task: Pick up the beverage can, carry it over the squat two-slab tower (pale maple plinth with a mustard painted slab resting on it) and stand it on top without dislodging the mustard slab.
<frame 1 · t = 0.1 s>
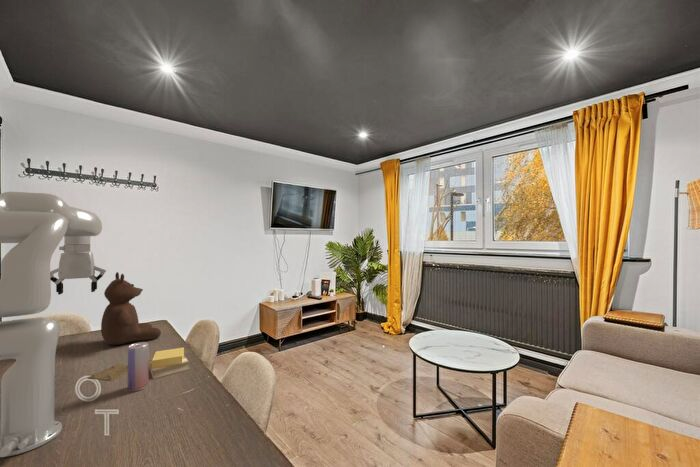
hand: (77, 292, 116), 31 cm above the table, tool pointing down, fingers open, 9 cm apart
stuffed bear: (131, 340, 151), on the table
beverage can: (138, 388, 104), on the table
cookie: (115, 374, 116), on the table
tower top: (168, 361, 119), point 3 cm above the table, touching tower base
tower base: (168, 368, 119), on the table
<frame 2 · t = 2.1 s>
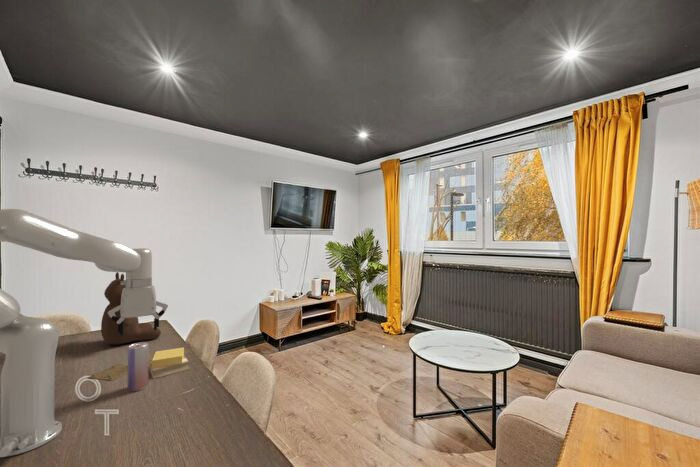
hand: (139, 331, 104), 20 cm above the table, tool pointing down, fingers open, 9 cm apart
nothing on the table moved.
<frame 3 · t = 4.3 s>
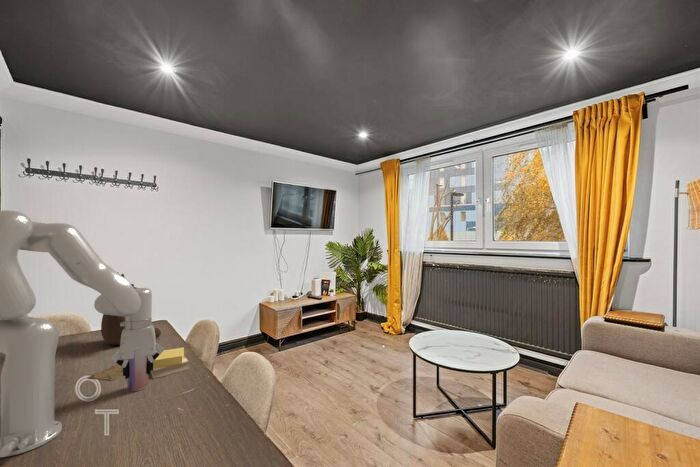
hand: (138, 374, 104), 5 cm above the table, tool pointing down, fingers closed on beverage can, 5 cm apart
beverage can: (138, 388, 104), on the table, touching gripper
everything else where it was.
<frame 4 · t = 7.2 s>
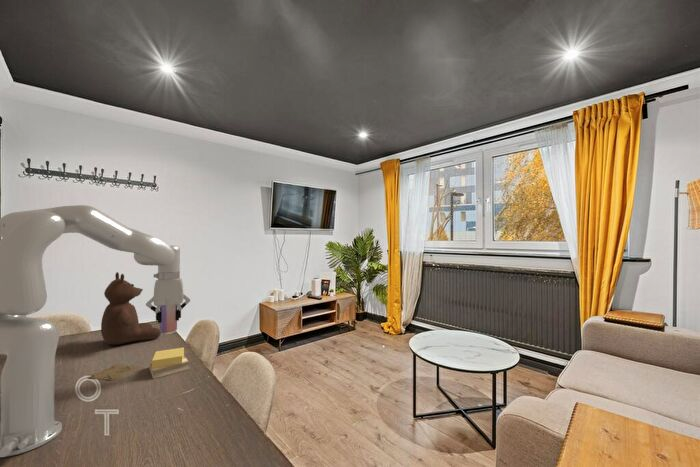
hand: (168, 320, 119), 19 cm above the table, tool pointing down, fingers closed on beverage can, 5 cm apart
beverage can: (168, 332, 119), point 15 cm above the table, touching gripper
everything else where it was.
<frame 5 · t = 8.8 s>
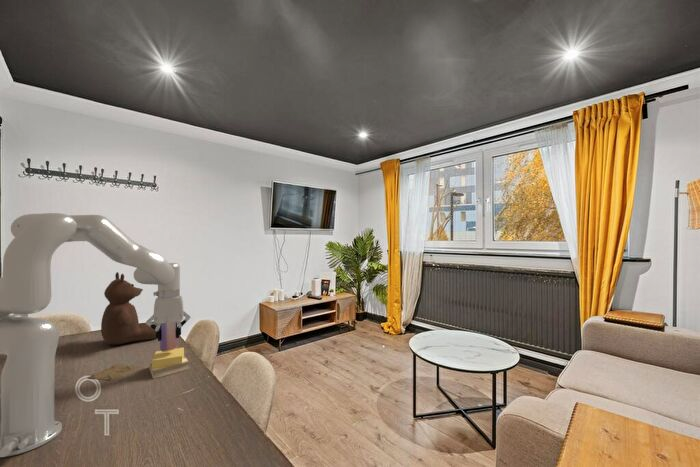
hand: (168, 338, 119), 12 cm above the table, tool pointing down, fingers closed on beverage can, 5 cm apart
beverage can: (168, 349, 119), point 7 cm above the table, touching gripper
everything else where it was.
when the fingers open (11 cm above the table, at t = 10.3 s): beverage can stays where it is, resting on tower top.
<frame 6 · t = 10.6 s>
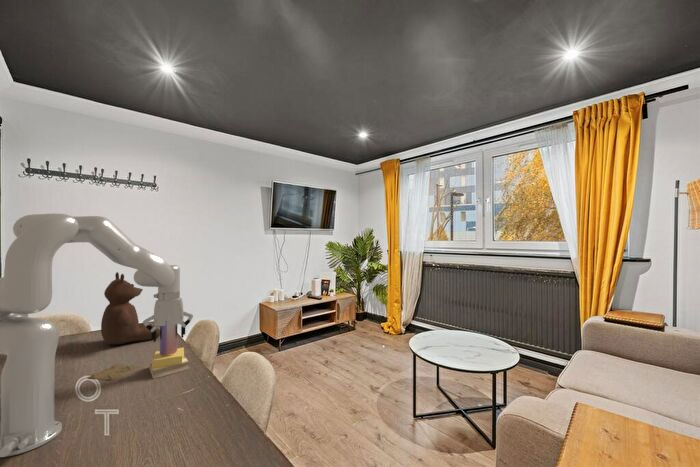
hand: (168, 338, 119), 12 cm above the table, tool pointing down, fingers open, 9 cm apart
beverage can: (168, 354, 119), point 6 cm above the table, touching tower top
tower top: (168, 361, 119), point 3 cm above the table, touching beverage can, tower base
everything else where it was.
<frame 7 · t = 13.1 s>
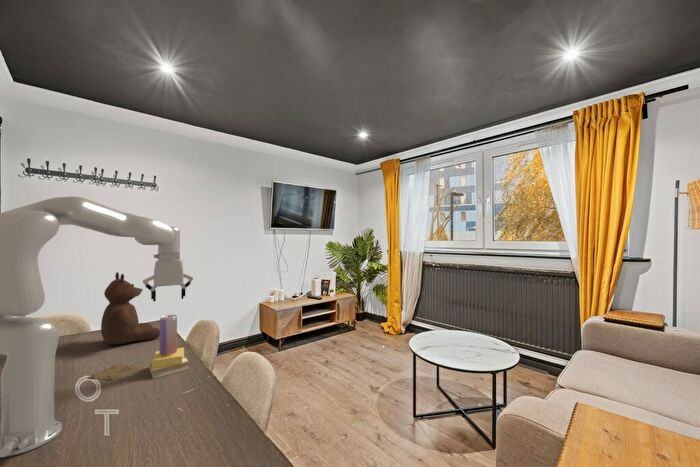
hand: (168, 299, 119), 28 cm above the table, tool pointing down, fingers open, 9 cm apart
nothing on the table moved.
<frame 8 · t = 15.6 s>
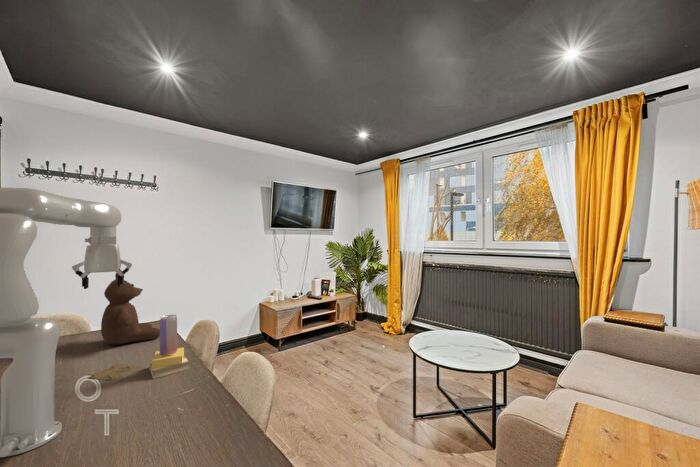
hand: (103, 287, 110), 34 cm above the table, tool pointing down, fingers open, 9 cm apart
nothing on the table moved.
at the end: beverage can inside the target area on the tower top (0.1 cm from its centre), point 2.8 cm above the tower top's base; beverage can tilted 0°; tower top point 3.0 cm above the table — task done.
